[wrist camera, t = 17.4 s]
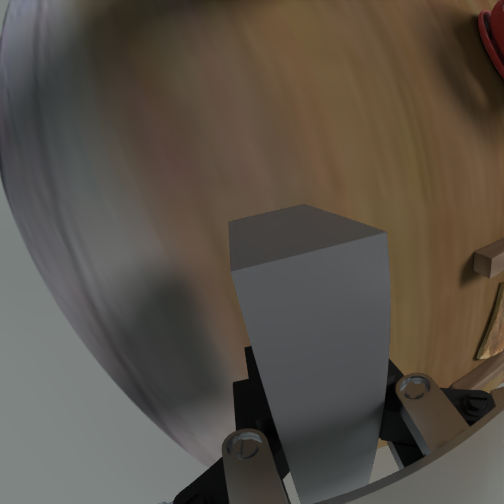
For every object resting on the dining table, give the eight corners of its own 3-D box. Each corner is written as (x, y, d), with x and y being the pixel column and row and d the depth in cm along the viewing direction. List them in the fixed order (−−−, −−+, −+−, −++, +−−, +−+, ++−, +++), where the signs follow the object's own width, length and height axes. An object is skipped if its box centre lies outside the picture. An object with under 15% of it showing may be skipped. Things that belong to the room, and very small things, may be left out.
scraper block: (228, 221, 11) (230, 271, 5) (304, 204, 11) (386, 231, 5) (282, 426, 14) (303, 510, 8) (331, 412, 14) (366, 490, 8)
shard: (499, 276, 22) (509, 281, 20) (521, 275, 23) (530, 279, 21) (471, 356, 25) (480, 362, 23) (498, 345, 26) (505, 351, 24)
